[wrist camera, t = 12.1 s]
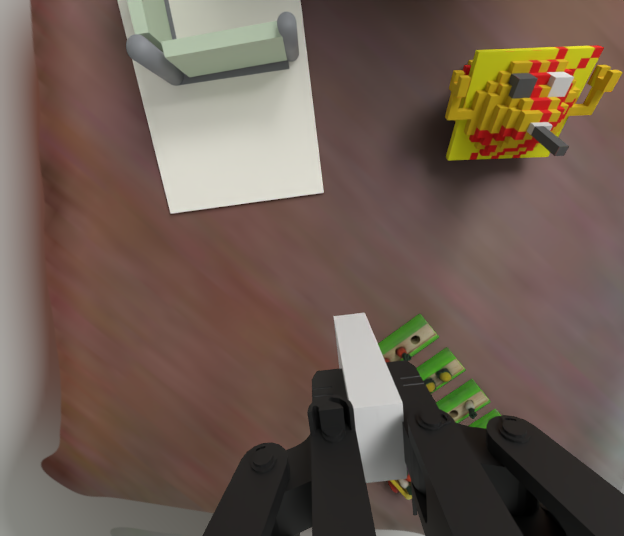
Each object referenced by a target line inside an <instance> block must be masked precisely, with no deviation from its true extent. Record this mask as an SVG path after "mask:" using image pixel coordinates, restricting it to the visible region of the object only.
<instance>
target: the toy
mask: <svg viewBox="0 0 624 536" xmlns="http://www.w3.org/2000/svg"><path fill="white" fill-rule="evenodd" d="M603 49H604V47H601V46H599V45H598V46H571V47H544V48H517V49H490V50H476V51H475V55H474V58H473V60H469V61H468V65H464V68H463V71H462V70H453V74H452V78H451V82H450V86H449V90H450V91H451V95H450V99H449V103H448V107H447V111H446V115H445V118H446V119H447V120H454V121H455V126H454V129H453V133H452V137H451V140H450V144H449V147H448V151H447V154H446V158H447V160H474V159H502V158H529V157H548V156H549V154H550V152H551V153H552V154H553V155H554V156H564V155H565V153H566V151H567V149H568V148H569V146H568V145H567V144H566V143H564V142H563V141H562V140H561V139H559V138H558V136H559V134H560V132H561V130H562V128H563V126H564V125H565V123H566V121H567V119H568V117H569V116H576V115H592V113H593V111H594V109H595V108H596V106H597V104H598V102H599V100H600V99H601V97H602V95H603V93H604V92H612V90H613V88H614V87H615V85H616V83H617V81H618V80H619V78H620V76H621V74H622V73H623V72H621V71H618V70H610V68H611V67H609V66H607V65H597V66H596V68H595V70H594V72H593V74H592V76H591V78H590V79H589V81H588V83H587V84H589V85H591V86H592V88H591V90H590V92H589V94H588V95H587V97H586V99H585V101H584V103H583V104H575V103H576V101H577V99H578V97H579V95H580V94H581V92H582V90H583V88H584V86H585V84H586V82H587V80H588V78H589V76H590V74H591V72H592V70H593V68H594V66H595V64H596V63H597V61H598V59H599V57H600V55H601V53H602V51H603Z"/></svg>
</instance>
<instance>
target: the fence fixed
mask: <svg viewBox="0 0 624 536" xmlns="http://www.w3.org/2000/svg"><path fill="white" fill-rule="evenodd" d="M127 3H128V7H129V11H130V15H131V19H132V23H133V28H134V32H135V34H134V35H132V36H130V37H129V38H128V40H127V43H126V50H127V53H128V55H129V56H130V57H131V58H132V59H133V60H134V61H136V62H138V63H139V64H141V65H142V66H144V67H145V68H147V69H148V70H150V71H151V72H153V73H154V74H156V75H157V76H159V77H160V78H162V79H164V80H165V81H167V82H168V83H170V84H171V85H174V86H177V85H180V84H181V83H182V82H183V80H184V73H183V72H182V71H181V70H180V69H178V68H177V67H176V66H175V65H173V64H172V63H171V62H170V61H169V60H167V59H166V58H165V56H164V52H163V48H162V44H161V42H162V41H168V40H172V35H171V30H170V26H169V21H168V16H167V12H166V7H165V3H164V0H127Z"/></svg>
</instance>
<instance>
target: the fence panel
mask: <svg viewBox="0 0 624 536" xmlns="http://www.w3.org/2000/svg"><path fill="white" fill-rule="evenodd" d="M161 44H162V48H163V52H164V56H165V58H166V59H167V60H169V61H170V62H171V63H172V64H173V65H175V66H176V67H177V68H178V69H180V70H181V71H182V72H183V73H185V74H186V75H187V76H188V77H195V76H200V75H206V74H212V73H217V72H223V71H229V70H234V69H240V68H246V67H251V66H257V65H263V64H268V63H274V62H280V61H285V60H288V61H290V62H292V61H295V60H296V59H297V58H298V56H299V46H298V35H297V23H296V18H295V16H294V15H293V14H292V13H290V12H283V13H281V14H280V15H279V17H278V19H277V21H273V22H267V23H262V24H256V25H251V26H245V27H240V28H234V29H229V30H223V31H218V32H212V33H206V34H201V35H195V36H190V37H184V38H179V39H173V40H168V41H162V42H161Z"/></svg>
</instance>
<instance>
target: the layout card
mask: <svg viewBox="0 0 624 536" xmlns="http://www.w3.org/2000/svg"><path fill="white" fill-rule="evenodd" d="M117 1H118V5H119V9H120V13H121V17H122V21H123V25H124V29H125V33H126V37H127V40H128V38H129V37H130V36H132V35H134V34H135V32H134V28H133V23H132V19H131V15H130V11H129V7H128V3H127V0H117ZM164 3H165V7H166V12H167V16H168V21H169V26H170V30H171V35H172V40H173V39H179V38H184V37H190V36H195V35H201V34H206V33H212V32H218V31H223V30H229V29H234V28H240V27H245V26H251V25H256V24H262V23H267V22H273V21H277V19H278V17H279V15H280V14H281V13H283V12H290V13H292V14H293V15H294V16H295V18H296V23H297V35H298V46H299V56H298V58H297V59H296V60H295V61H292V62H290V61H288V60H285V61H280V62H274V63H268V64H263V65H257V66H251V67H246V68H240V69H234V70H229V71H223V72H217V73H212V74H206V75H200V76H195V77H188V76H187V75H186V74H185V73H184V80H183V82H182V83H181V84H180V85H177V86H174V85H171V84H170V83H168V82H167V81H165V80H164V79H162V78H160V77H159V76H157V75H156V74H154V73H153V72H151V71H150V70H148V69H147V68H145V67H144V66H142V65H141V64H139V63H138V62H136V61H134V60H133V59H132V61H133V65H134V69H135V73H136V77H137V81H138V85H139V89H140V93H141V97H142V101H143V105H144V109H145V113H146V117H147V121H148V125H149V129H150V133H151V137H152V141H153V145H154V149H155V153H156V157H157V161H158V165H159V169H160V173H161V177H162V181H163V185H164V189H165V193H166V197H167V201H168V205H169V209H170V213H171V214H172V213H179V212H186V211H194V210H201V209H208V208H216V207H223V206H230V205H238V204H245V203H252V202H259V201H267V200H274V199H281V198H289V197H296V196H303V195H311V194H318V193H324V190H323V182H322V174H321V166H320V157H319V149H318V141H317V133H316V124H315V116H314V108H313V99H312V91H311V83H310V75H309V66H308V58H307V50H306V41H305V33H304V25H303V17H302V8H301V0H164Z"/></svg>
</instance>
